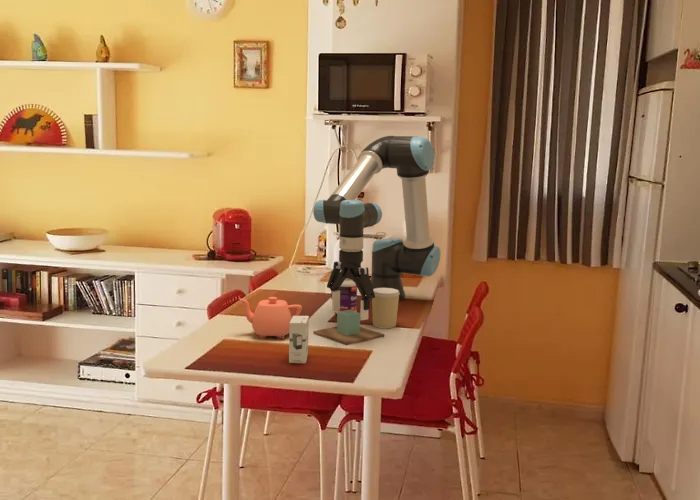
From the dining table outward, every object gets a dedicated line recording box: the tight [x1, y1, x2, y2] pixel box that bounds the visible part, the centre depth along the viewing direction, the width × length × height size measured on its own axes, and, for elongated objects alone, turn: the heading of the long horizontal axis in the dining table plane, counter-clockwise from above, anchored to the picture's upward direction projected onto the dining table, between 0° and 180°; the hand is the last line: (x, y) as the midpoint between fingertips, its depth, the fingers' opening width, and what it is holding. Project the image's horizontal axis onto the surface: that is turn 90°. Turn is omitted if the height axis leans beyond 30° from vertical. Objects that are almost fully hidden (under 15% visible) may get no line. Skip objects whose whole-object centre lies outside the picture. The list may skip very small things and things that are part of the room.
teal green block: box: [336, 310, 361, 336], centre depth 241 cm, size 5×5×7 cm
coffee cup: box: [371, 288, 400, 329], centre depth 254 cm, size 9×9×12 cm
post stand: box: [312, 325, 385, 346], centre depth 241 cm, size 16×16×6 cm
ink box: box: [288, 315, 310, 364], centre depth 215 cm, size 9×5×12 cm, turn 178°
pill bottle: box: [333, 278, 358, 314], centre depth 268 cm, size 8×8×14 cm
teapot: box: [238, 296, 303, 340], centre depth 238 cm, size 13×20×12 cm, turn 91°
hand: (349, 315), depth 241 cm, fingers open, 13 cm apart
